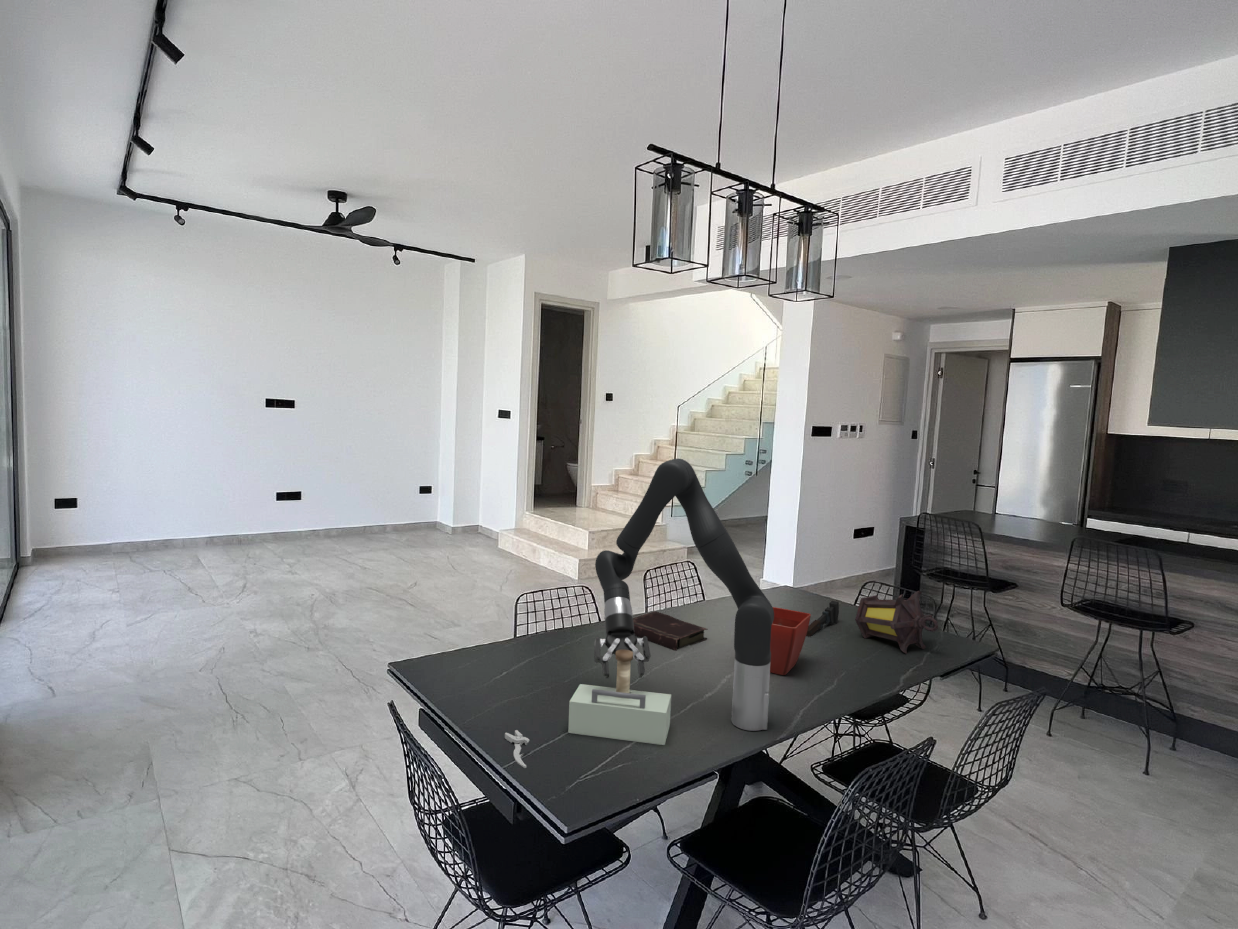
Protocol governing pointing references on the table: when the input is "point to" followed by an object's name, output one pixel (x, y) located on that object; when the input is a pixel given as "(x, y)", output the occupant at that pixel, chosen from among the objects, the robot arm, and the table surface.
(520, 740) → the pliers
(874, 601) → the lantern
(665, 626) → the diary
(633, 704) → the toolbox
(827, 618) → the dark stepped piece
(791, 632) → the plant pot
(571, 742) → the table surface
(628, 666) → the beige long cylinder
